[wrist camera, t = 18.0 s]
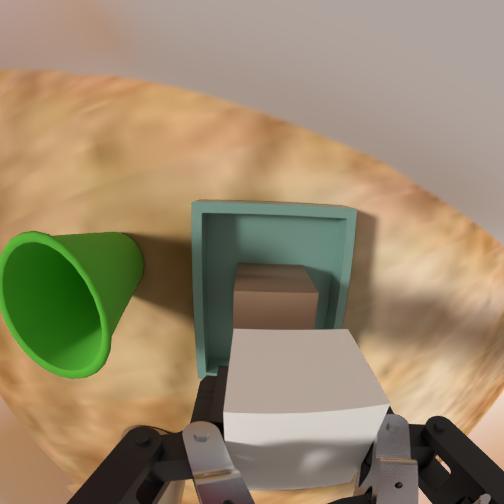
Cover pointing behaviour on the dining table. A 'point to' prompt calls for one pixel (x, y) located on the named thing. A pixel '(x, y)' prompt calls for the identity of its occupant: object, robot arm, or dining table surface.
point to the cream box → (299, 408)
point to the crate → (264, 262)
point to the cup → (68, 296)
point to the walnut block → (274, 297)
